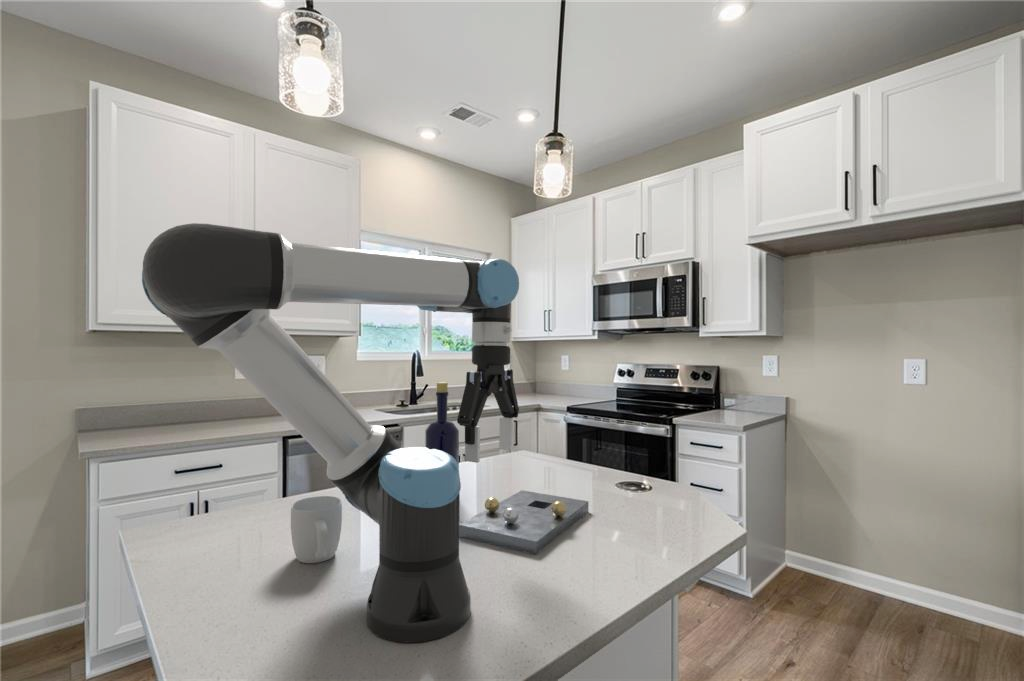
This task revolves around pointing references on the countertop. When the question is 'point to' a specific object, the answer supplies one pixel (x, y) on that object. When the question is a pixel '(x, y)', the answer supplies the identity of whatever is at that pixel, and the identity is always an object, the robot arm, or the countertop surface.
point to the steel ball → (510, 515)
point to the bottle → (443, 427)
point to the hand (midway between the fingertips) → (490, 455)
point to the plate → (524, 522)
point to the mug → (316, 528)
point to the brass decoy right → (558, 508)
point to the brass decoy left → (491, 504)
